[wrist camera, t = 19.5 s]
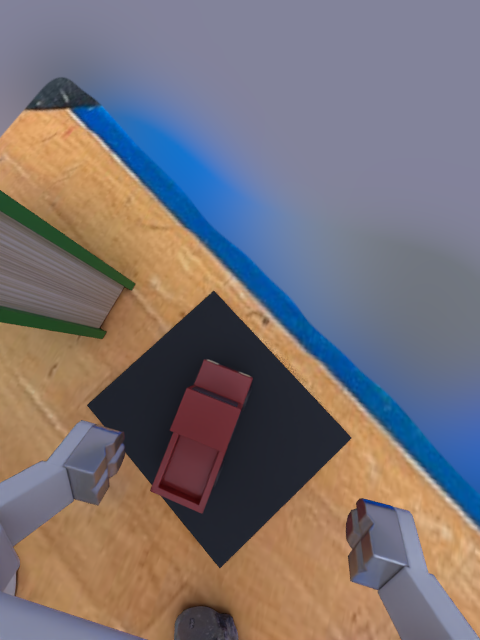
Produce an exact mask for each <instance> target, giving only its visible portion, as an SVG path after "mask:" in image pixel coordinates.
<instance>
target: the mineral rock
mask: <svg viewBox="0 0 480 640" xmlns="http://www.w3.org/2000/svg"><path fill="white" fill-rule="evenodd" d="M174 640H238V633H237V629H236V627H235V625H234V622H233V618H232V617H231V616H230V615H228V614H220V613H218V612H216V611H215V610H213V609H211V608H209V607H204V606H198V607H192V608H189V609H186V610H184V611H183V612H182V613H181V614H180V615H179V616H178V617H177V619H176V622H175V633H174Z"/></svg>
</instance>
